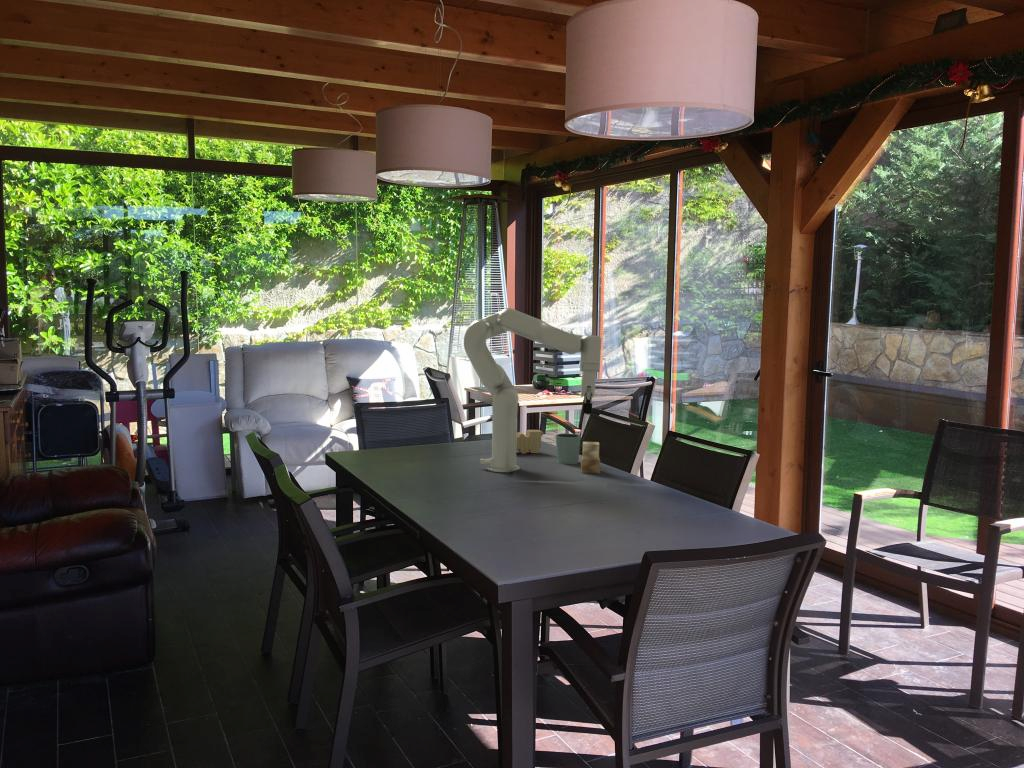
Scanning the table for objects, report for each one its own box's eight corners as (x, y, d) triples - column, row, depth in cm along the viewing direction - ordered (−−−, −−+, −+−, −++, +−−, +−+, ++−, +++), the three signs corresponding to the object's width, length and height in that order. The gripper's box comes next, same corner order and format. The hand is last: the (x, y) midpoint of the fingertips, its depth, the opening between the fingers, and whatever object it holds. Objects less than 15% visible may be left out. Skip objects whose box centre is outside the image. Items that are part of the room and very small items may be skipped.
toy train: (502, 452, 382) (502, 429, 381) (539, 451, 386) (540, 429, 385) (505, 454, 376) (505, 431, 375) (543, 454, 381) (543, 431, 380)
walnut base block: (581, 472, 334) (581, 459, 333) (580, 469, 341) (581, 456, 340) (599, 473, 333) (600, 460, 333) (598, 470, 340) (599, 457, 340)
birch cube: (583, 459, 334) (583, 444, 333) (582, 457, 340) (583, 441, 339) (598, 460, 333) (599, 444, 333) (598, 457, 339) (598, 442, 339)
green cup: (584, 465, 355) (585, 436, 354) (565, 467, 349) (565, 437, 348) (569, 461, 363) (570, 432, 362) (549, 463, 358) (550, 434, 357)
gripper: (579, 365, 344) (577, 408, 346) (580, 368, 327) (577, 414, 328) (598, 366, 344) (596, 410, 345) (600, 369, 326) (597, 415, 328)
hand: (587, 412), depth 337 cm, fingers open, 9 cm apart
